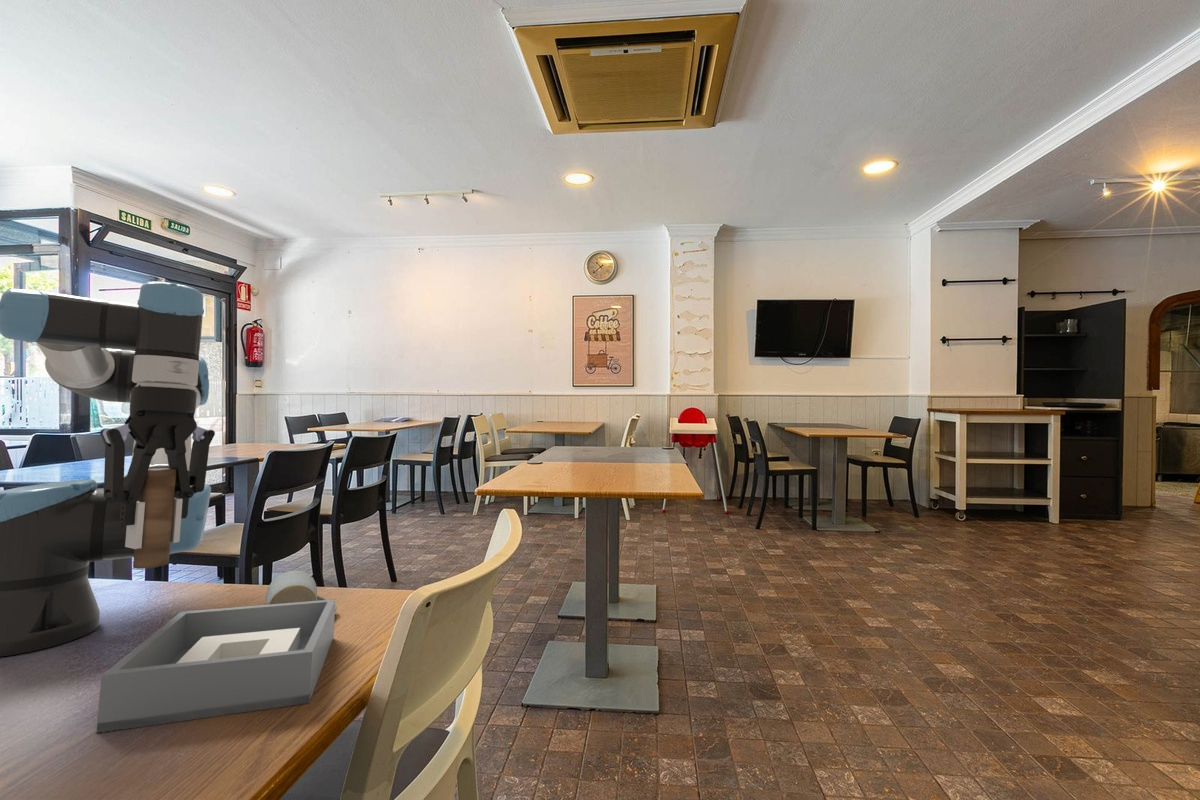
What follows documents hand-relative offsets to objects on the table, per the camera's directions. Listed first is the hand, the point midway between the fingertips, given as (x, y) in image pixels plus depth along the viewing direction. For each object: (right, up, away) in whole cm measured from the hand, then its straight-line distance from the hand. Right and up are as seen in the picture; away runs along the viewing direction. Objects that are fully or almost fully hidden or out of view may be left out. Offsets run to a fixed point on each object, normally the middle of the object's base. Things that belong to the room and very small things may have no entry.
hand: (152, 543), depth 75 cm
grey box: (+18, -15, -8) cm, 25 cm away
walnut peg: (0, -3, 0) cm, 3 cm away
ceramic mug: (+15, -17, +12) cm, 25 cm away
